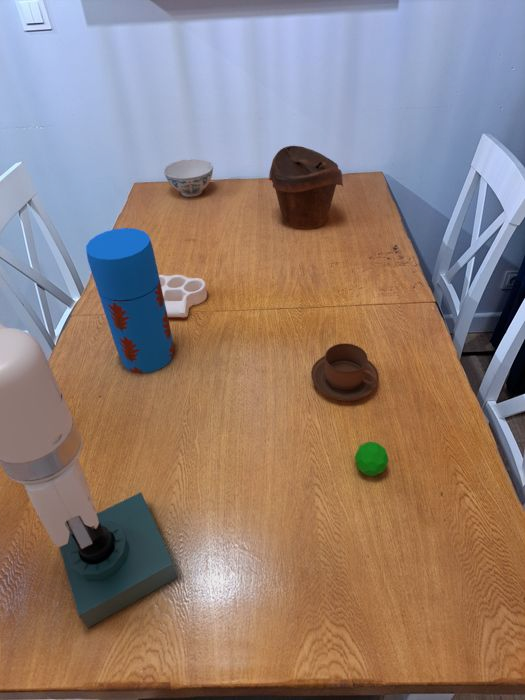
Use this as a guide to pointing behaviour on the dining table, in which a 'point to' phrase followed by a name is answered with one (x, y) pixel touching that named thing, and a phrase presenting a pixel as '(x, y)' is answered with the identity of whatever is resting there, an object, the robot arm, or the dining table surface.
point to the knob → (98, 548)
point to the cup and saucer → (345, 373)
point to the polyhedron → (371, 458)
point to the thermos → (132, 298)
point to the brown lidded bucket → (304, 185)
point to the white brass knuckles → (181, 293)
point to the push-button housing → (119, 563)
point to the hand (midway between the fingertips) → (89, 535)
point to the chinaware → (189, 176)
